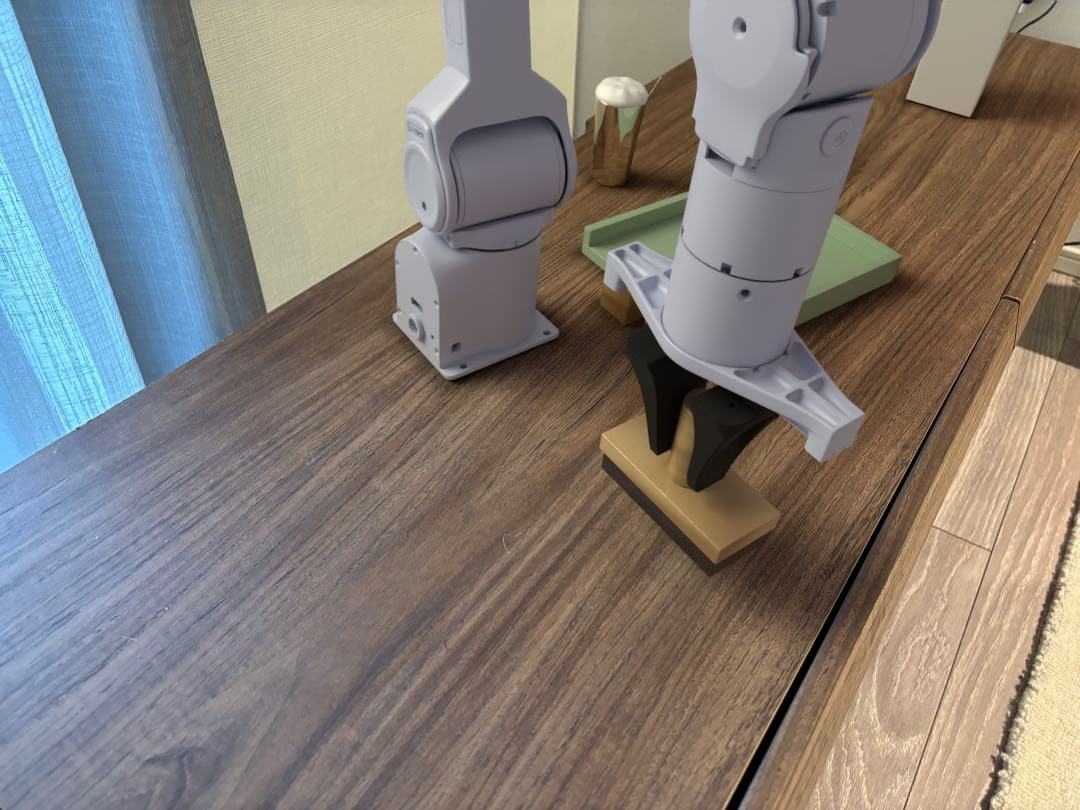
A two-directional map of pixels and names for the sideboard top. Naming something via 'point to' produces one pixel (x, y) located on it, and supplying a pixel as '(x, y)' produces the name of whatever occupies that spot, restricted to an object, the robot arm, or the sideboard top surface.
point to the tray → (837, 277)
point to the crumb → (620, 305)
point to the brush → (687, 494)
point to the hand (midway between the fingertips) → (686, 463)
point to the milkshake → (617, 128)
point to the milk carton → (962, 53)
